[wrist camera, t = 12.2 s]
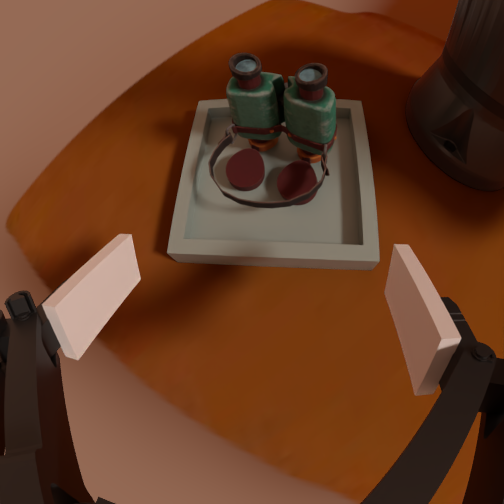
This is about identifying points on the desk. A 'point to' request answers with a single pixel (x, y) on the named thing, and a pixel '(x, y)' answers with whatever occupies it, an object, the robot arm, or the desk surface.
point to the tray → (275, 219)
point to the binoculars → (278, 128)
